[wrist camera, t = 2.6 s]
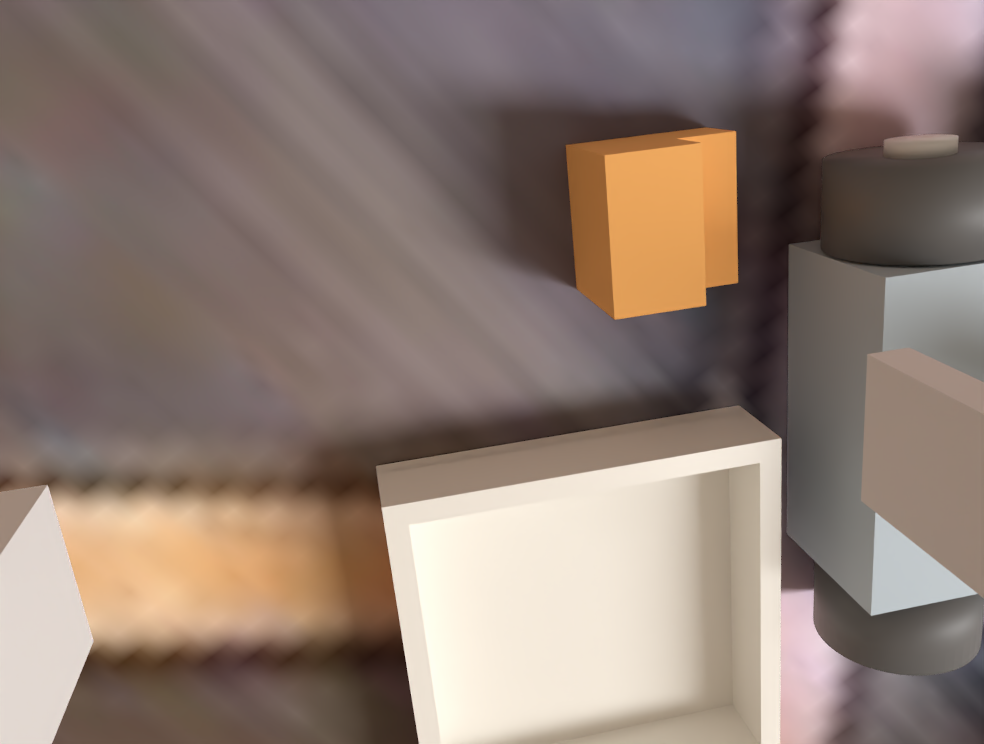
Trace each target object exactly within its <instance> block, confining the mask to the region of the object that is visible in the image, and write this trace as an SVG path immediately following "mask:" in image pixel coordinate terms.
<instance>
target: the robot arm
mask: <svg viewBox="0 0 984 744" xmlns="http://www.w3.org/2000/svg"><path fill="white" fill-rule="evenodd" d="M861 501H862V502H863V503H864V504H866V505H867V506H868V507H869V508H871V509H872V510H873V511H874V512H876V513H877V514H878V515H879V516H881V517H882V518H883V519H885V520H886V521H887V522H888V523H890V524H891V525H892V526H893V527H895V528H896V529H897V530H898V531H900V532H901V533H902V534H903V535H905V536H906V537H907V538H908V539H910V540H911V541H912V542H913V543H915V544H916V545H917V546H918V547H920V548H921V549H922V550H924V551H925V552H926V553H927V554H929V555H930V556H931V557H932V558H934V559H935V560H936V561H937V562H939V563H940V564H941V565H942V566H944V567H945V568H946V569H947V570H949V571H950V572H951V573H952V574H954V575H955V576H956V577H958V578H959V579H960V580H961V581H963V582H964V583H965V584H966V585H968V586H969V587H970V588H971V589H973V590H974V591H975V592H976V593H978V594H979V595H980V596H981V597H983V598H984V382H982V381H980V380H978V379H976V378H973V377H971V376H969V375H967V374H965V373H963V372H961V371H958V370H956V369H954V368H952V367H950V366H948V365H946V364H943V363H941V362H939V361H937V360H935V359H933V358H931V357H929V356H926V355H924V354H922V353H920V352H918V351H916V350H914V349H911V348H903V349H897V350H890V351H884V352H878V353H871V354H867V372H866V395H865V418H864V441H863V464H862V487H861ZM92 644H93V638H92V634H91V631H90V627H89V624H88V621H87V617H86V614H85V610H84V607H83V604H82V600H81V597H80V593H79V590H78V587H77V583H76V580H75V576H74V573H73V570H72V566H71V563H70V559H69V556H68V552H67V549H66V546H65V542H64V539H63V535H62V532H61V529H60V525H59V522H58V518H57V515H56V512H55V508H54V505H53V501H52V498H51V495H50V491H49V488H48V485H43V486H36V487H30V488H24V489H18V490H11V491H5V492H0V744H52V742H53V739H54V737H55V734H56V732H57V729H58V727H59V724H60V722H61V720H62V717H63V715H64V712H65V710H66V707H67V705H68V702H69V700H70V698H71V695H72V693H73V690H74V688H75V685H76V683H77V680H78V678H79V675H80V673H81V671H82V668H83V666H84V663H85V661H86V658H87V656H88V653H89V651H90V648H91V646H92Z"/></svg>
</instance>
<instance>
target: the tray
mask: <svg viewBox="0 0 984 744" xmlns="http://www.w3.org/2000/svg"><path fill="white" fill-rule="evenodd" d="M781 461H782V438H781V437H779V436H778V435H777V434H775V433H774V432H773V431H772V430H770V429H769V428H768V427H766V426H765V425H764V424H763V423H761V422H760V421H759V420H757V419H756V418H755V417H754V416H752V415H751V414H750V413H748V412H747V411H746V410H745V409H743V408H742V407H741V406H739V405H737V406H731V407H725V408H719V409H713V410H707V411H701V412H695V413H689V414H683V415H677V416H671V417H665V418H659V419H653V420H647V421H641V422H635V423H629V424H623V425H617V426H612V427H606V428H600V429H594V430H588V431H582V432H576V433H570V434H564V435H558V436H552V437H546V438H540V439H534V440H528V441H522V442H516V443H510V444H504V445H498V446H492V447H486V448H480V449H474V450H468V451H462V452H456V453H450V454H444V455H438V456H432V457H426V458H420V459H414V460H408V461H402V462H396V463H390V464H384V465H378V466H376V472H377V479H378V486H379V493H380V500H381V508H382V514H383V520H384V527H385V533H386V539H387V545H388V552H389V558H390V564H391V571H392V577H393V583H394V590H395V596H396V602H397V609H398V615H399V621H400V627H401V634H402V640H403V646H404V653H405V659H406V665H407V672H408V678H409V684H410V691H411V697H412V703H413V709H414V716H415V722H416V728H417V735H418V741H419V744H780V661H781Z"/></svg>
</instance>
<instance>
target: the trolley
mask: <svg viewBox="0 0 984 744" xmlns="http://www.w3.org/2000/svg"><path fill="white" fill-rule="evenodd" d="M958 140H959V136H958V135H952V134H923V135H909V136H900V137H893V138H888V139H885V140H884V146H878V147H869V148H862V149H855V150H849V151H844V152H839V153H835V154H831V155H828V156H826V157H824V158H823V159H822V191H821V240H814V241H807V242H800V243H793V244H789V274H788V411H787V535H789V536H790V537H791V538H792V539H793V540H794V541H795V542H796V543H797V544H798V545H799V546H800V547H801V548H802V549H803V550H804V551H805V552H806V553H807V554H808V555H809V556H810V557H811V558H812V559H813V560H814V612H813V618H814V625H815V628H816V630H817V632H818V634H819V635H820V636H821V638H822V639H823V640H824V641H825V642H826V643H827V644H828V645H829V646H830V647H831V648H832V649H834V650H835V651H836V652H838V653H839V654H841V655H843V656H844V657H846V658H848V659H850V660H852V661H854V662H856V663H859V664H861V665H864V666H866V667H869V668H873V669H876V670H880V671H884V672H888V673H894V674H901V675H921V676H923V675H935V674H941V673H946V672H950V671H953V670H956V669H958V668H961V667H963V666H964V665H966V664H968V663H969V662H970V661H971V660H973V659H974V658H975V656H976V655H977V654H978V652H979V649H980V646H981V638H982V627H983V616H984V598H983V597H981V596H980V595H979V594H978V593H976V592H975V591H974V590H973V589H971V588H970V587H969V586H968V585H966V584H965V583H964V582H963V581H961V580H960V579H959V578H958V577H956V576H955V575H954V574H952V573H951V572H950V571H949V570H947V569H946V568H945V567H944V566H942V565H941V564H940V563H939V562H937V561H936V560H935V559H934V558H932V557H931V556H930V555H929V554H927V553H926V552H925V551H924V550H922V549H921V548H920V547H918V546H917V545H916V544H915V543H913V542H912V541H911V540H910V539H908V538H907V537H906V536H905V535H903V534H902V533H901V532H900V531H898V530H897V529H896V528H895V527H893V526H892V525H891V524H890V523H888V522H887V521H886V520H885V519H883V518H882V517H881V516H879V515H878V514H877V513H876V512H874V511H873V510H872V509H871V508H869V507H868V506H867V505H866V504H864V503H863V502H862V501H861V487H862V464H863V441H864V418H865V395H866V372H867V354H871V353H878V352H884V351H890V350H897V349H903V348H911V349H914V350H916V351H918V352H920V353H922V354H924V355H926V356H929V357H931V358H933V359H935V360H937V361H939V362H941V363H943V364H946V365H948V366H950V367H952V368H954V369H956V370H958V371H961V372H963V373H965V374H967V375H969V376H971V377H973V378H976V379H978V380H980V381H982V382H984V142H958Z"/></svg>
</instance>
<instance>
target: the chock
mask: <svg viewBox="0 0 984 744" xmlns="http://www.w3.org/2000/svg"><path fill="white" fill-rule="evenodd" d="M566 155H567V168H568V181H569V194H570V207H571V221H572V234H573V247H574V260H575V273H576V286H577V289H578V290H579V291H580V292H581V293H582V294H584V295H585V296H586V297H587V298H589V299H590V300H591V301H592V302H593V303H595V304H596V305H597V306H598V307H600V308H601V309H602V310H603V311H605V312H606V313H607V314H608V315H609V316H611V317H612V318H613V319H614V320H616V319H623V318H629V317H636V316H642V315H649V314H655V313H661V312H668V311H674V310H681V309H687V308H694V307H700V306H706V288H708V287H715V286H721V285H728V284H734V283H738V240H737V168H736V131H731V130H723V129H715V128H707V127H705V128H697V129H689V130H681V131H673V132H665V133H657V134H649V135H641V136H633V137H625V138H617V139H609V140H602V141H594V142H586V143H578V144H570V145H566Z"/></svg>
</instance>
